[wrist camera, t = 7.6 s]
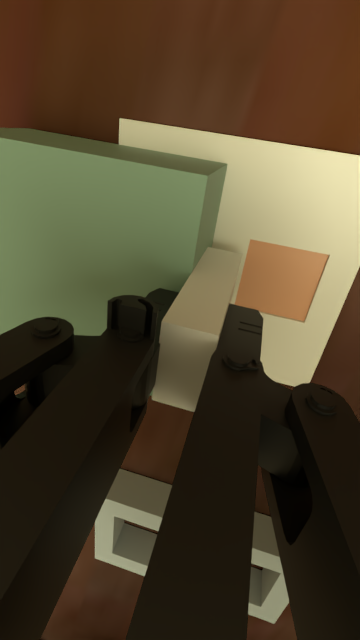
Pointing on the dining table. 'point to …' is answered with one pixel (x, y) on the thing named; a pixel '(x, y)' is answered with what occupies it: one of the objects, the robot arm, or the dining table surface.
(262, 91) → the dining table surface
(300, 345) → the mat
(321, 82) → the dining table surface
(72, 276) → the cover
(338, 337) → the dining table surface
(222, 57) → the dining table surface
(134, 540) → the grey double window frame
